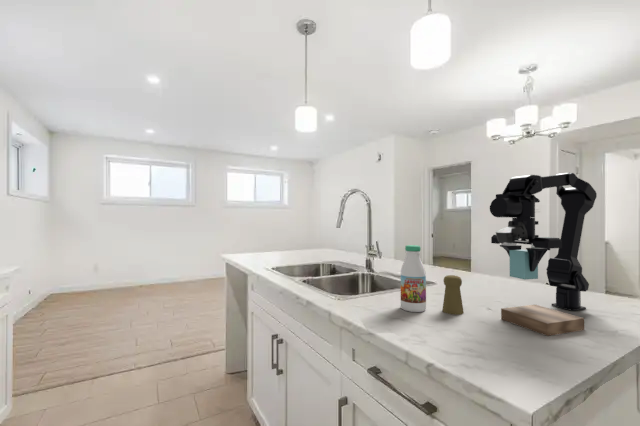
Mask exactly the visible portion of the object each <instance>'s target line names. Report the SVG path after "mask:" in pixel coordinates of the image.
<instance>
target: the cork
mask: <svg viewBox="0 0 640 426" xmlns="http://www.w3.org/2000/svg"><path fill="white" fill-rule="evenodd" d="M443 284H444V286H445V288H444V295H443V304H442V312H443V313H445V314H448V315H452V316H453V315H455V316H456V315H458V316H459V315H463V314H464V305H463V299H462V292H461V286H462V284H463V280H462V278H461V277H460V276H458V275H456V274H455V275H453V274H450V275H446V276H444V277H443Z"/></svg>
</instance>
